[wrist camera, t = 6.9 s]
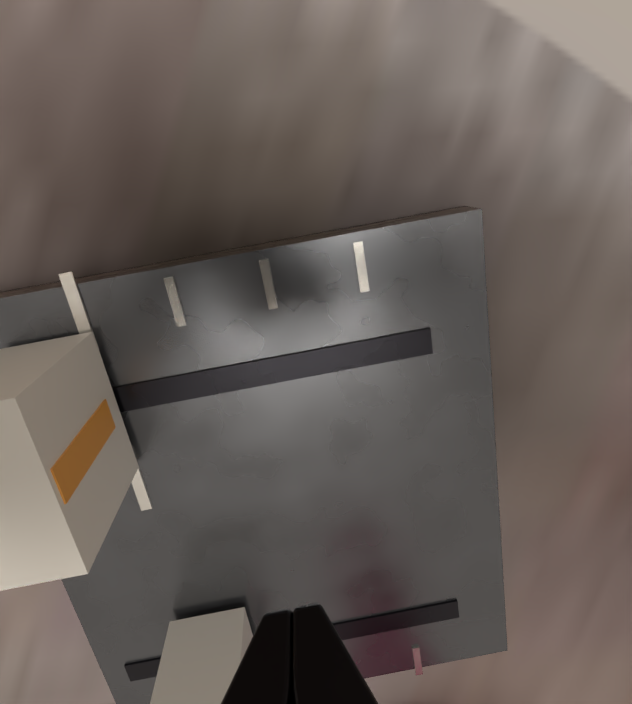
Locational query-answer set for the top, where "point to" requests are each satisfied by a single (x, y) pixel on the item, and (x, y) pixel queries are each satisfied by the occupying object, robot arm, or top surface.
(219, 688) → the fader plain
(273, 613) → the robot arm
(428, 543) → the mixer panel
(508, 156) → the top surface
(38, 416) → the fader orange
